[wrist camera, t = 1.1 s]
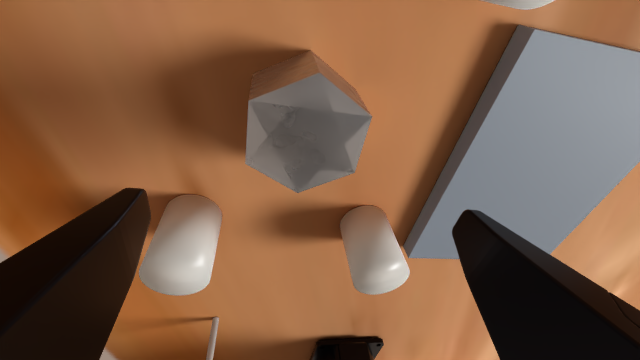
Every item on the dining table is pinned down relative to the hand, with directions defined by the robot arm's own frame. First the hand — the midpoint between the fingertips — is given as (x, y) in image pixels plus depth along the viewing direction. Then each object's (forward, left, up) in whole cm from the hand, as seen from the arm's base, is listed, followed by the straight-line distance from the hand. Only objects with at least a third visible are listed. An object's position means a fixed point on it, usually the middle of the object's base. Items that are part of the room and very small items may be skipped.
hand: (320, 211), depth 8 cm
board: (-2, -14, -7) cm, 16 cm away
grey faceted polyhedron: (0, 0, -7) cm, 7 cm away
